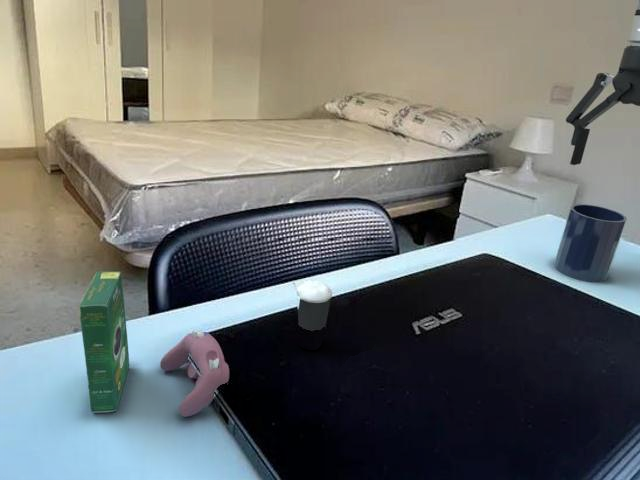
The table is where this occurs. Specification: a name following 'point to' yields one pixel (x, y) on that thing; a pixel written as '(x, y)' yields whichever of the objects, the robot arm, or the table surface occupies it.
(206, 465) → the table surface
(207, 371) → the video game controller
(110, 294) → the coffee box
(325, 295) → the milkshake
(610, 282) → the table surface
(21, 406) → the table surface
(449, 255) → the table surface
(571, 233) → the tube
